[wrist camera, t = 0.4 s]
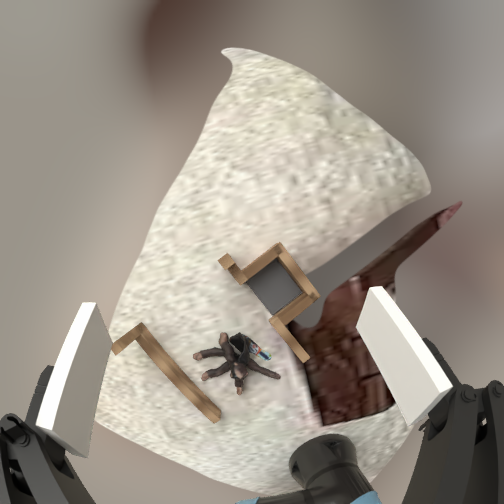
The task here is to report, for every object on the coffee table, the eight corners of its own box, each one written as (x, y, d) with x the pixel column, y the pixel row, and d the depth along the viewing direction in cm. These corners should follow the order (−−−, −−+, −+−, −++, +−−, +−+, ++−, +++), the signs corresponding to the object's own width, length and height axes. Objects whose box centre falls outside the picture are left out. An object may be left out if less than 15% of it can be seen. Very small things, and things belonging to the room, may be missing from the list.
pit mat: (301, 291, 46) (301, 291, 46) (272, 314, 46) (272, 315, 45) (275, 257, 46) (275, 257, 46) (245, 281, 46) (245, 281, 45)
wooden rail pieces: (337, 324, 47) (367, 343, 35) (214, 413, 45) (211, 451, 33) (263, 226, 46) (275, 216, 34) (135, 326, 44) (109, 346, 32)
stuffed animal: (189, 336, 44) (250, 342, 38) (222, 323, 52) (278, 325, 46) (199, 396, 43) (257, 410, 37) (229, 376, 52) (283, 384, 46)
